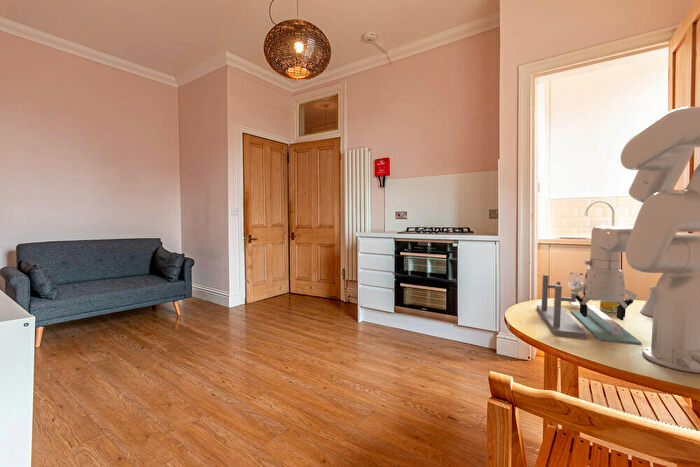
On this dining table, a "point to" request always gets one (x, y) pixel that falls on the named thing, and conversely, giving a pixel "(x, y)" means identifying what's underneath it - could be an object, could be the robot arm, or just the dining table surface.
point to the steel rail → (605, 322)
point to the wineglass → (575, 282)
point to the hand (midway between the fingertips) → (601, 317)
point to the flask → (649, 303)
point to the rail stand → (558, 312)
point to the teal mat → (600, 332)
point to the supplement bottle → (608, 306)
